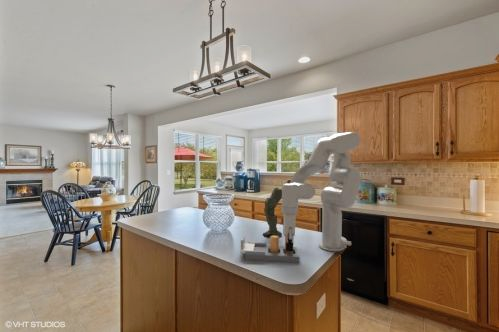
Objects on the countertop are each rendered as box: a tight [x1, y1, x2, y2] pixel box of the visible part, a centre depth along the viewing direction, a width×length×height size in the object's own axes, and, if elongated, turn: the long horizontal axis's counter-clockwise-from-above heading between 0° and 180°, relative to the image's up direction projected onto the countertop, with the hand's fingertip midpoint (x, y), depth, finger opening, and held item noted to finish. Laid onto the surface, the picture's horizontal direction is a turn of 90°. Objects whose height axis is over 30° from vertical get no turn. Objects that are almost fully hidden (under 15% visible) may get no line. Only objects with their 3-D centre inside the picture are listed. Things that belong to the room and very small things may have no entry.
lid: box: [239, 235, 255, 254], centre depth 111 cm, size 6×10×5 cm, turn 175°
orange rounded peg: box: [284, 234, 295, 254], centre depth 109 cm, size 4×4×9 cm
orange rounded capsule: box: [269, 236, 280, 253], centre depth 110 cm, size 4×4×9 cm
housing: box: [244, 241, 300, 263], centre depth 110 cm, size 24×12×4 cm, turn 85°
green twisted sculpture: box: [262, 187, 283, 238], centre depth 141 cm, size 14×7×30 cm, turn 106°
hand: (289, 248), depth 109 cm, fingers closed on orange rounded peg, 4 cm apart
